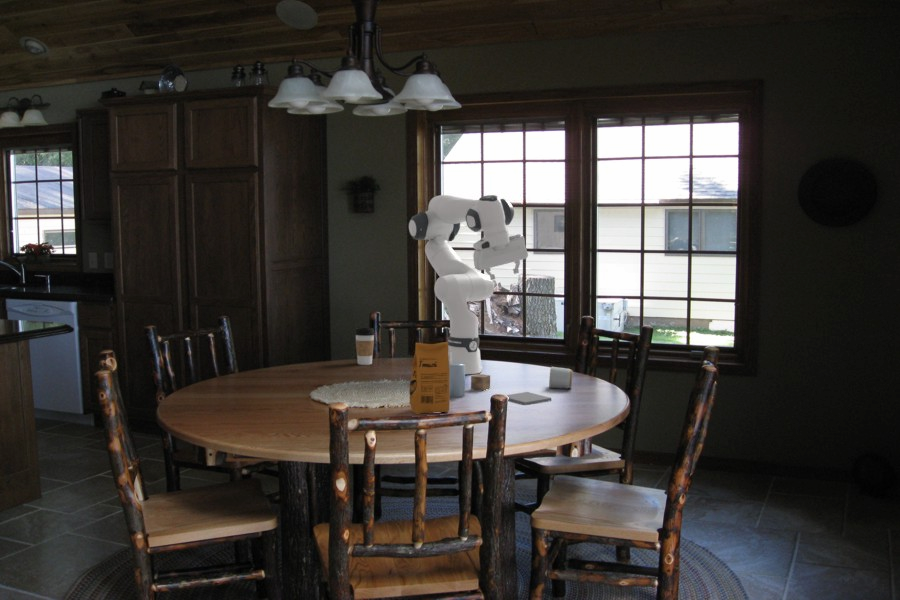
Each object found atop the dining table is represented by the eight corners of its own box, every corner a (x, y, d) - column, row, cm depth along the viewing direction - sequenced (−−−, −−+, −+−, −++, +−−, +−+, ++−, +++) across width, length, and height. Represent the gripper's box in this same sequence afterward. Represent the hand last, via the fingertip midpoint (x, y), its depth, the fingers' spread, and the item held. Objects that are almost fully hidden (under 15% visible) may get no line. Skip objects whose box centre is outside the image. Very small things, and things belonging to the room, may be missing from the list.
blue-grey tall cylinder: (445, 395, 292) (445, 363, 291) (457, 393, 296) (458, 362, 294) (455, 398, 288) (455, 366, 287) (467, 396, 291) (468, 364, 290)
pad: (501, 398, 288) (501, 396, 288) (527, 394, 295) (527, 391, 295) (525, 404, 279) (525, 402, 279) (551, 400, 286) (551, 397, 286)
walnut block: (470, 389, 303) (471, 376, 302) (478, 387, 307) (478, 373, 306) (482, 391, 300) (483, 377, 299) (490, 389, 304) (490, 375, 304)
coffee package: (408, 408, 272) (408, 340, 270) (445, 406, 275) (446, 339, 272) (412, 415, 263) (412, 345, 261) (451, 413, 265) (452, 344, 263)
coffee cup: (353, 365, 349) (353, 329, 347) (356, 361, 357) (356, 326, 356) (373, 365, 348) (373, 329, 347) (376, 362, 357) (376, 326, 355)
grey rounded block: (571, 390, 302) (572, 369, 302) (548, 389, 304) (549, 368, 303) (572, 385, 313) (573, 364, 312) (550, 384, 314) (550, 363, 314)
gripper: (520, 232, 313) (527, 268, 316) (468, 245, 308) (476, 282, 311) (526, 233, 307) (533, 270, 310) (474, 246, 302) (482, 284, 305)
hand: (504, 276), depth 311 cm, fingers open, 8 cm apart
